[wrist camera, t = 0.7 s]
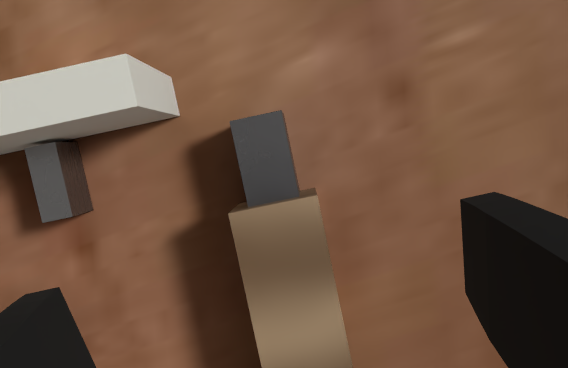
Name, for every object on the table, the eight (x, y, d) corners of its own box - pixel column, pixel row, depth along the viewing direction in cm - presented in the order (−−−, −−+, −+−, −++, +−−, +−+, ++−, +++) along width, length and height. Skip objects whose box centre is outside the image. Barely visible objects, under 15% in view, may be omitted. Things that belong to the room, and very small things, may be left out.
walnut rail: (383, 517, 28) (396, 577, 24) (309, 529, 29) (310, 592, 25) (299, 110, 27) (298, 104, 23) (222, 127, 27) (208, 124, 23)
